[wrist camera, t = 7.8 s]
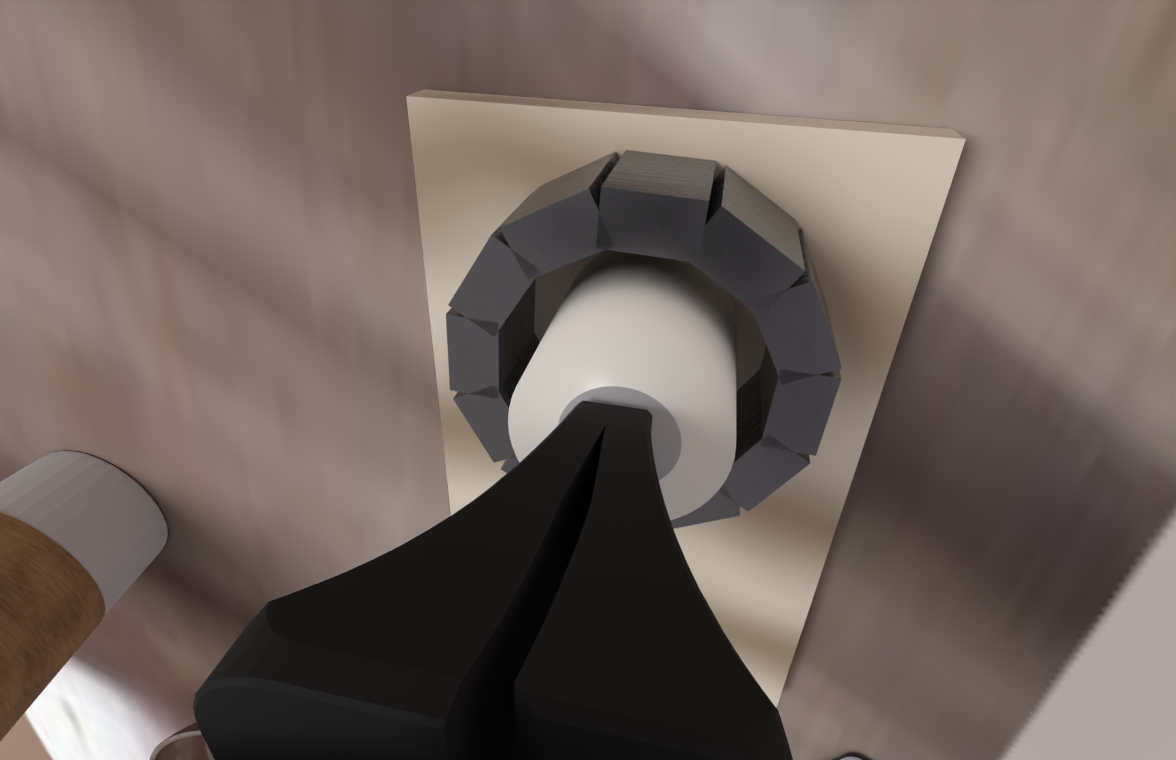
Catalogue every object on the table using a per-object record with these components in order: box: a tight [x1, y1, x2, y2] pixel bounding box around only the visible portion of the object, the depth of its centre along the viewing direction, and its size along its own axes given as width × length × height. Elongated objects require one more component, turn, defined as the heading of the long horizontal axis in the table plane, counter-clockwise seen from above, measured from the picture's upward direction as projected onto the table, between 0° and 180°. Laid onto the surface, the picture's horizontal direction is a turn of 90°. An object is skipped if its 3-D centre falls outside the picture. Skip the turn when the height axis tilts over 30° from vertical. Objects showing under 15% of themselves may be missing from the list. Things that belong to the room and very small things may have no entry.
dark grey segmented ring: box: [446, 150, 842, 529], centre depth 15 cm, size 8×8×3 cm
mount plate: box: [406, 89, 966, 707], centre depth 20 cm, size 20×12×1 cm, turn 178°
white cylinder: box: [508, 250, 737, 520], centre depth 15 cm, size 4×4×5 cm
